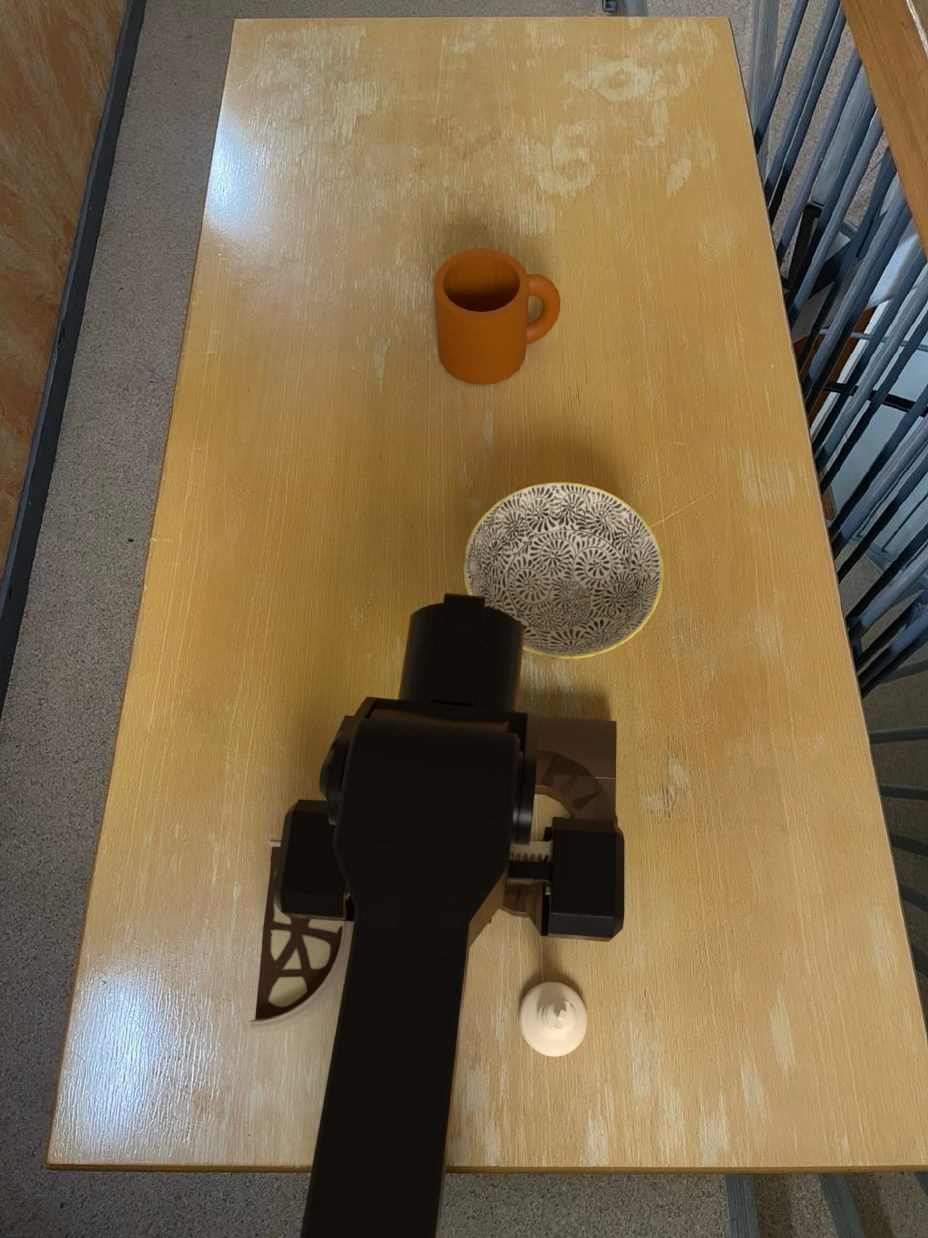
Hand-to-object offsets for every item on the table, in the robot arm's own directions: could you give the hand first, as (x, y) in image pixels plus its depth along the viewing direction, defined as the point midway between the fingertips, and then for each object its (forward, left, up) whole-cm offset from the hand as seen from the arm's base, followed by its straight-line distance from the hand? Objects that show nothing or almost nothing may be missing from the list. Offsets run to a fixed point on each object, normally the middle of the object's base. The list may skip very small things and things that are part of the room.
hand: (455, 892), depth 58 cm
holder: (+9, -5, -12) cm, 16 cm away
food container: (-3, +10, -13) cm, 16 cm away
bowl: (+27, -6, -13) cm, 30 cm away
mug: (+55, +1, -13) cm, 56 cm away
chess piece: (-6, -7, -13) cm, 16 cm away
